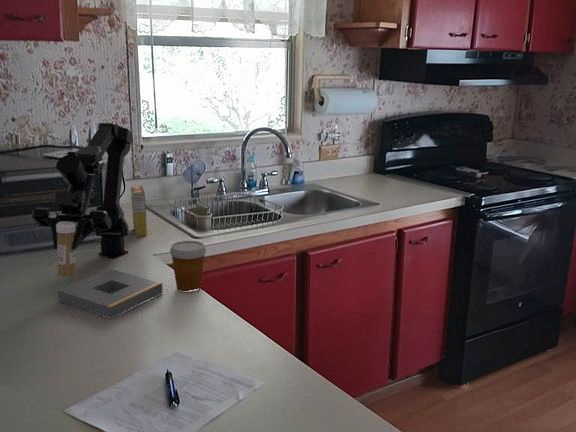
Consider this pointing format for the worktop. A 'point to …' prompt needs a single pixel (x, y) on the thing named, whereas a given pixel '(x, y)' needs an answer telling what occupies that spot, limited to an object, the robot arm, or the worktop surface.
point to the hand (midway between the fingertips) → (64, 248)
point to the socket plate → (98, 299)
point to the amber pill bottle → (66, 248)
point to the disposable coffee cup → (188, 264)
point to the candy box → (139, 210)
